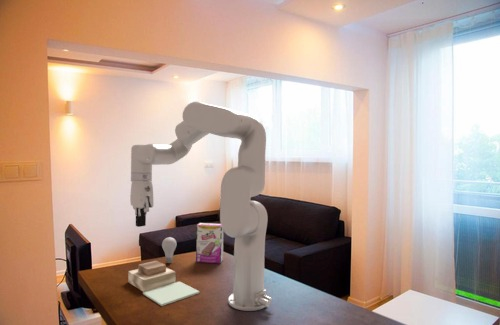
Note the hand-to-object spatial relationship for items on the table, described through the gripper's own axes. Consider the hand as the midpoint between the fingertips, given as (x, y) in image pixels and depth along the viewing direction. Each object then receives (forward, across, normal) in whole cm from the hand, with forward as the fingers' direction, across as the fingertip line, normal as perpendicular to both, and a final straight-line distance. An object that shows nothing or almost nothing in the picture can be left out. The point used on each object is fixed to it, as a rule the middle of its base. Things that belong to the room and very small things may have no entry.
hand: (140, 225), depth 122 cm
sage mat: (+19, -22, 0) cm, 29 cm away
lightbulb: (+19, +6, -16) cm, 26 cm away
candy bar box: (+19, -4, -30) cm, 36 cm away
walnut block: (+14, -9, 0) cm, 16 cm away
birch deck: (+19, -9, 0) cm, 21 cm away
